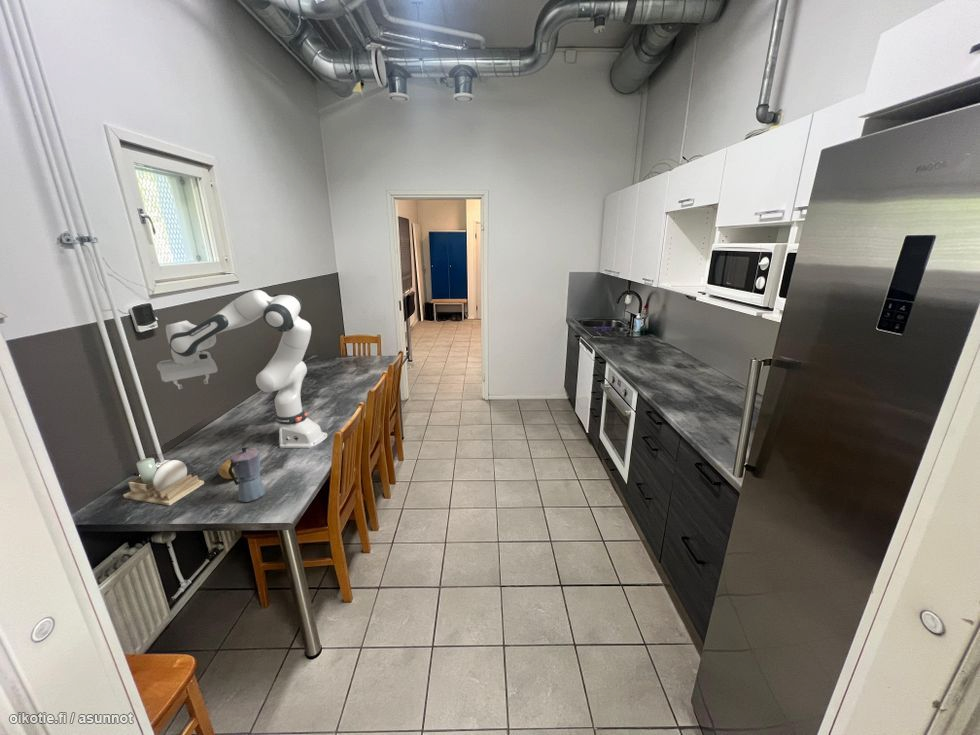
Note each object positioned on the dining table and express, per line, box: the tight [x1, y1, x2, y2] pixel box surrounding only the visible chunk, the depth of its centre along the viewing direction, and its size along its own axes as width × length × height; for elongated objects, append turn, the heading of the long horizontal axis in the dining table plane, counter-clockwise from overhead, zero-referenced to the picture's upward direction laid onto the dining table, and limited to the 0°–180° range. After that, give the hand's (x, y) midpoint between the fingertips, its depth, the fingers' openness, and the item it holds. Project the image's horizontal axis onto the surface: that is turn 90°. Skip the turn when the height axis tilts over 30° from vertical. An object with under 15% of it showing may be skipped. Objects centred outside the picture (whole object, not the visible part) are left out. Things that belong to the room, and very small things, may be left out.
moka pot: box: [228, 447, 266, 503], centre depth 142 cm, size 10×15×20 cm, turn 2°
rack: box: [123, 459, 205, 506], centre depth 147 cm, size 22×14×13 cm, turn 77°
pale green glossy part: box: [136, 457, 158, 484], centre depth 149 cm, size 5×5×11 cm
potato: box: [218, 457, 238, 480], centre depth 158 cm, size 10×14×8 cm
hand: (193, 386), depth 173 cm, fingers open, 8 cm apart
